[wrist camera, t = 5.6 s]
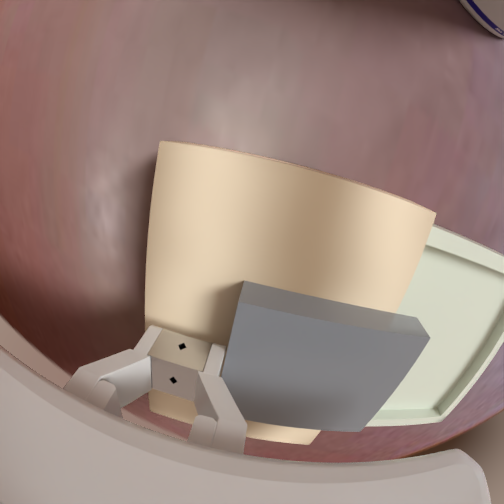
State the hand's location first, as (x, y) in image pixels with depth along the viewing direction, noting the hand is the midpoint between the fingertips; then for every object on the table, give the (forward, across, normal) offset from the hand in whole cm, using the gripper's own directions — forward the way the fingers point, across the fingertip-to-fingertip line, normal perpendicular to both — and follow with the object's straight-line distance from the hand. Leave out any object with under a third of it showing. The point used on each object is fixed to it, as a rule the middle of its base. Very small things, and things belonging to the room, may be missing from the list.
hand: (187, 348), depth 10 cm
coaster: (+1, -5, 0) cm, 5 cm away
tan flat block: (+3, -3, 0) cm, 4 cm away
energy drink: (+3, -11, -21) cm, 24 cm away
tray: (+3, -13, 0) cm, 13 cm away
